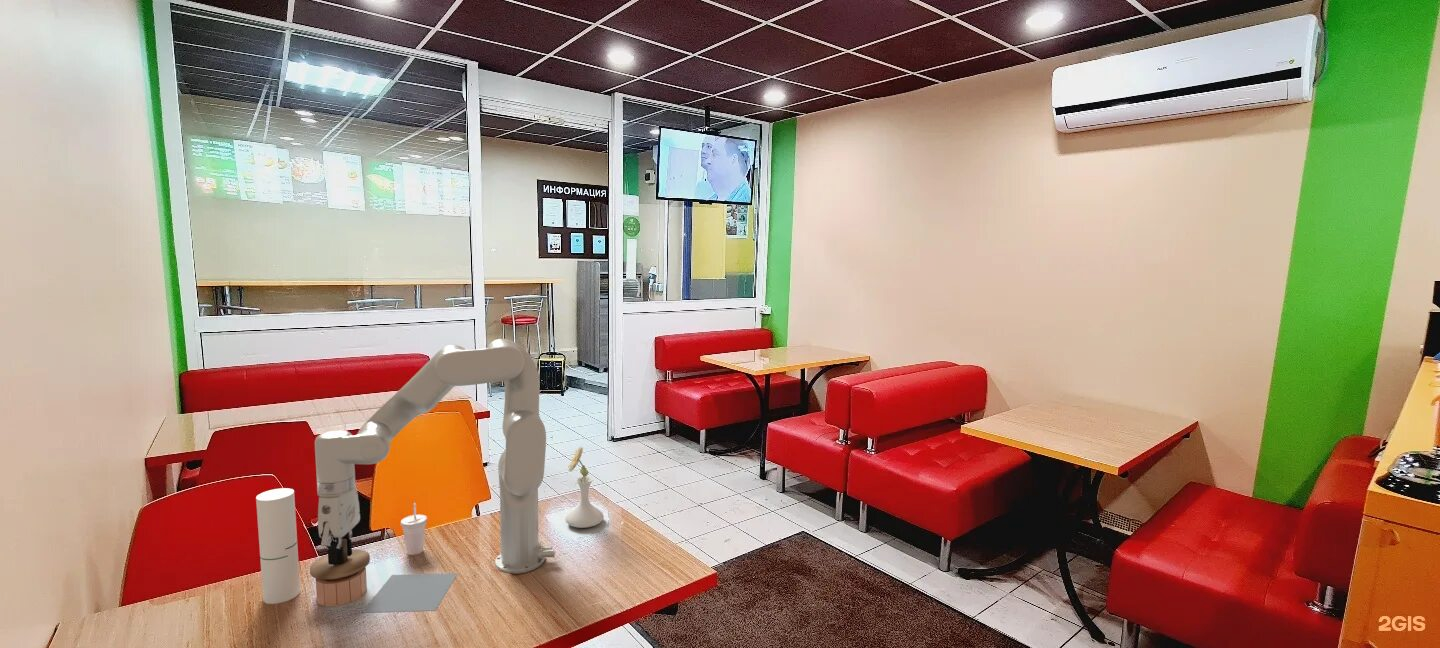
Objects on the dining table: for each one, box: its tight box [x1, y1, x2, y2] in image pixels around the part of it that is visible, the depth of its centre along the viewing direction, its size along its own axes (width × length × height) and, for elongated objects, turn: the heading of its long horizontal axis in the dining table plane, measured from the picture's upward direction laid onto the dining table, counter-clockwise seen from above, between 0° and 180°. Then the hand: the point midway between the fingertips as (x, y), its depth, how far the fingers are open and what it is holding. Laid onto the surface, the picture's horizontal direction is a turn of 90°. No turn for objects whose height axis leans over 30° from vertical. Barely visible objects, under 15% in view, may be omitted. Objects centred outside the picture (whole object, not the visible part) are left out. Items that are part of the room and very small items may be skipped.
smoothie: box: [400, 502, 428, 556], centre depth 165 cm, size 6×6×14 cm
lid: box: [309, 539, 371, 580], centre depth 144 cm, size 12×12×6 cm
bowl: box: [315, 566, 368, 607], centre depth 145 cm, size 10×10×6 cm
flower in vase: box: [565, 446, 605, 529], centre depth 185 cm, size 13×11×25 cm
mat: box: [361, 572, 459, 614], centre depth 147 cm, size 16×16×1 cm
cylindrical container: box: [255, 487, 301, 605], centre depth 144 cm, size 7×7×25 cm
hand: (340, 558), depth 144 cm, fingers closed on lid, 3 cm apart
